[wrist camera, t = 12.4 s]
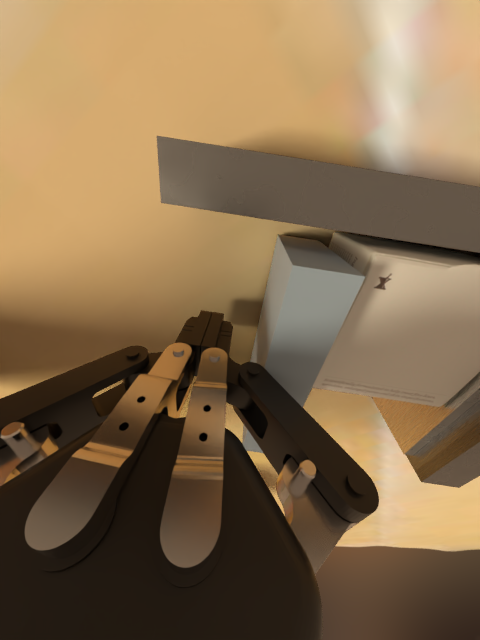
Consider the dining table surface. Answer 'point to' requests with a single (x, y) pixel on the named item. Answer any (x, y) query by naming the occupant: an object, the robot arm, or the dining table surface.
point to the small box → (406, 323)
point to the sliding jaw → (301, 315)
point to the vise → (356, 217)
